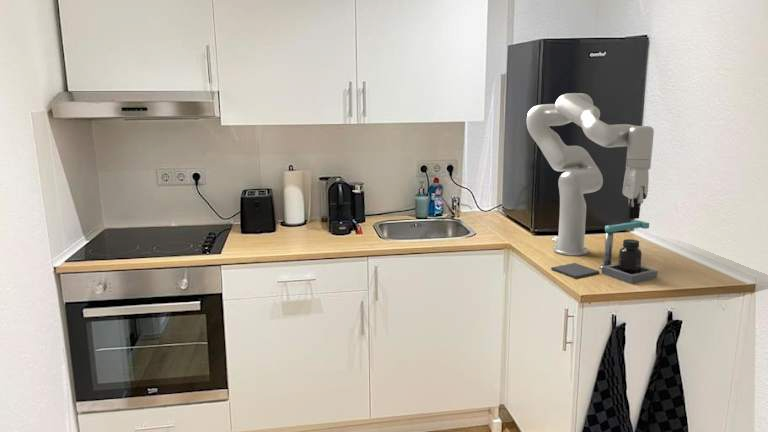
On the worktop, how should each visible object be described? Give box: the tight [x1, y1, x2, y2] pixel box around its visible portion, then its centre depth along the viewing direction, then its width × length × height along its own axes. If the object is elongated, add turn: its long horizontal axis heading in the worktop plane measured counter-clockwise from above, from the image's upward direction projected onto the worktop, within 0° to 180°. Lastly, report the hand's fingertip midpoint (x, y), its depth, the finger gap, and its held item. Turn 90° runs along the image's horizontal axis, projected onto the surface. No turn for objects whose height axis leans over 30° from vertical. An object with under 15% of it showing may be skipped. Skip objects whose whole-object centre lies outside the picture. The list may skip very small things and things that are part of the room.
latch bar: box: [604, 219, 650, 234], centre depth 195 cm, size 17×6×2 cm, turn 116°
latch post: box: [598, 232, 614, 271], centre depth 194 cm, size 5×5×13 cm
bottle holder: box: [601, 262, 658, 285], centre depth 187 cm, size 12×12×2 cm
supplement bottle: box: [618, 238, 643, 274], centre depth 186 cm, size 7×7×12 cm
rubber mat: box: [550, 262, 600, 279], centre depth 192 cm, size 11×11×1 cm
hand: (633, 217), depth 191 cm, fingers closed
